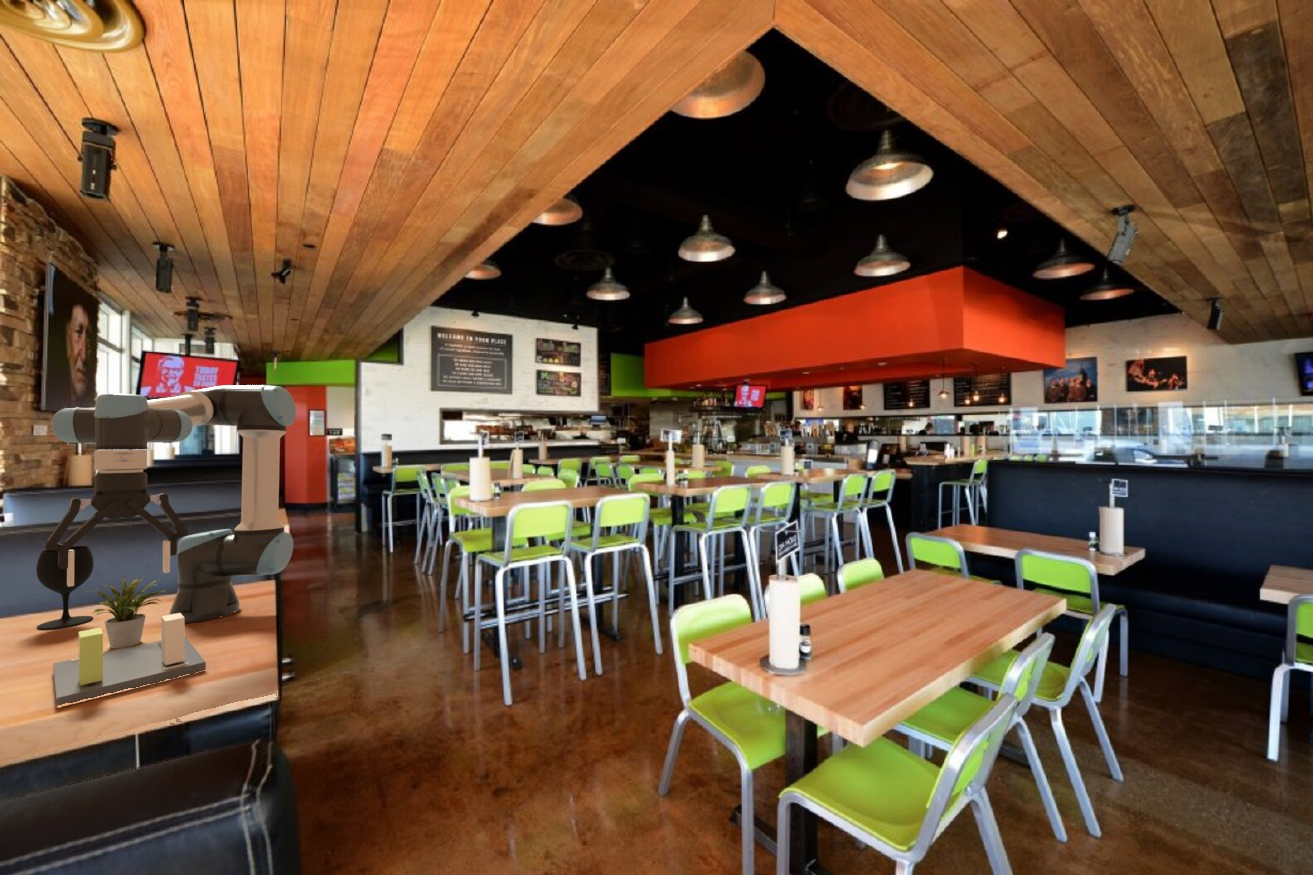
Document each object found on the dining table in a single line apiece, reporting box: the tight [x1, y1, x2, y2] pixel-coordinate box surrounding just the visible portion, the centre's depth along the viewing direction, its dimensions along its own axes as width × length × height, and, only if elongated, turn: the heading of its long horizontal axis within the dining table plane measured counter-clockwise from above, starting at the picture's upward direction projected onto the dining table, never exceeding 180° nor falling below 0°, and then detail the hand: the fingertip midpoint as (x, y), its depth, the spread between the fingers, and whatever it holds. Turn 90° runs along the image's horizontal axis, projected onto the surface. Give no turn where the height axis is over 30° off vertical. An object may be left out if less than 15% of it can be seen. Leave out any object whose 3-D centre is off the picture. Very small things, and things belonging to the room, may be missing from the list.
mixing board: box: [52, 636, 207, 707], centre depth 114 cm, size 21×24×2 cm
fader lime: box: [78, 627, 104, 685], centre depth 105 cm, size 3×5×9 cm, turn 49°
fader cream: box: [161, 613, 186, 665], centre depth 114 cm, size 3×5×9 cm, turn 49°
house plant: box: [84, 575, 169, 649], centre depth 129 cm, size 14×14×16 cm
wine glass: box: [35, 545, 95, 631], centre depth 146 cm, size 10×10×20 cm
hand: (120, 578), depth 108 cm, fingers open, 13 cm apart
